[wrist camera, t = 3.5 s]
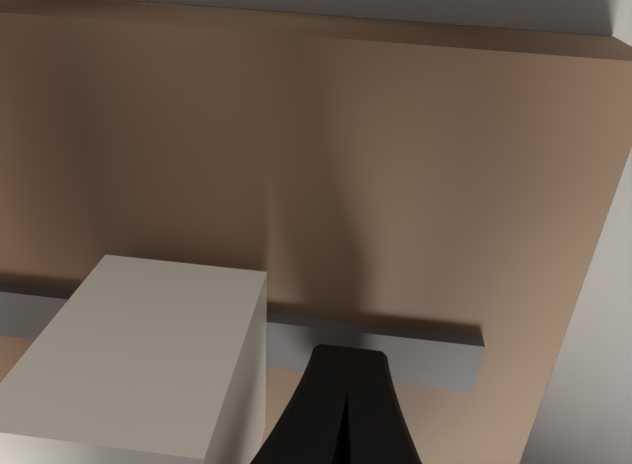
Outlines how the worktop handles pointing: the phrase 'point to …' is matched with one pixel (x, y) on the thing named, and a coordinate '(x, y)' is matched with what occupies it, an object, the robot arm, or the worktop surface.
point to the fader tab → (144, 370)
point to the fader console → (322, 187)
